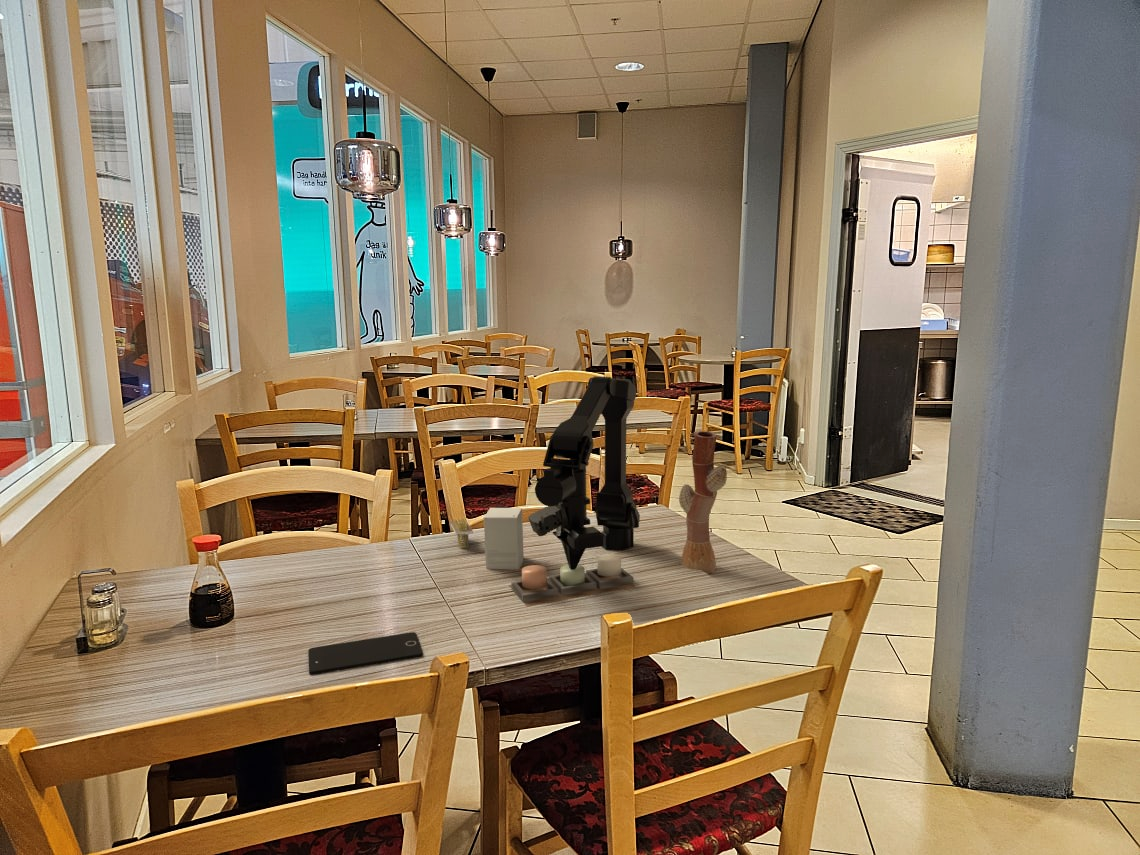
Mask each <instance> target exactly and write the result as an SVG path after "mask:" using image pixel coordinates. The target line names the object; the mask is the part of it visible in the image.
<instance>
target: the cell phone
mask: <svg viewBox="0 0 1140 855" xmlns="http://www.w3.org/2000/svg"><path fill="white" fill-rule="evenodd" d="M307 655H308V656H307V657H308V674H309V675H310V676H313V675H320V674H327V673H330V672H331V673H332V672H337V670H339V671H344V670H349V669H355V668H363V667H369V666H375V665H380V664H386V663H387V664H388V663H392V662H393V663H394V662H400V661H404V660H410V659H416V658H417V659H418V658H422V657H423V656H424V654H423V649H422V646H421V644H420V640H419V638H418V633H416V632H414V631H413V632H404V633H397V634H391V635H386V636H384V635H383V636H379V637H372V638H367V639H359V640H354V641H353V640H352V641H347V642H346V641H345V642H341V643H333V644H326V645H320V646H314V647H309V649H308V654H307Z"/></svg>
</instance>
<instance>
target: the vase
mask: <svg viewBox="0 0 1140 855" xmlns="http://www.w3.org/2000/svg"><path fill="white" fill-rule="evenodd" d="M693 436H694V438H693V439H694V442H693V449H692V450H693V451H692V457H691V460H692V471H693V477H694V478H693V481H694V482H693V483H694V489H693V487H692V486H691V485H689V484H688V483H685V484H683V485H682V486H681V490H680V492H679V498H678V501H679V505H680V507H681V508H682V510H683V511H684V512H685V514H686V519H685V520H686V521H685V523H686V534H687V535H686V541H685V545H684V548H683V551H682V554H681V560H680V561H681V562H680V563H681V566H682V567H685V568H687V569H689V570H690V569H691V570H696V571H702V572H704V573H705V574H707V575H709V574H710V575H711V574H713V573H714V572H715V571H716V568H717V561H716V556H715V551H714V549H713V546H712V542H711V540H710V539H711V538H710V514H711V511H712V509H713V506H714V504H715V502H716V498H717V495H718V491H719V490H721V489H722V488H723V487H725V485H726V483H727V479H728V478H727V474H728V472H727V471H728V470H727V468H726V467H725V466H724V465H718V466H716V467H715V466H714V464H715V462H714V460H715V450H716V449H715V448H716V444H717V436H718V435H717V434H716V433H714V432H711V431H702V430H695V431H694V432H693Z"/></svg>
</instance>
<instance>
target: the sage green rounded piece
mask: <svg viewBox="0 0 1140 855" xmlns="http://www.w3.org/2000/svg"><path fill="white" fill-rule="evenodd" d="M559 572H560V573H559V574H560V579H561V584H562V585H563V586H564V587H566V586H572V585H578V584H584V583H585V573H586V569H585V567H584V566H583V565H580V564H578V565H577V567H576V569H573V570H571V569H570V568H569V565H568V564H566V565H563V566H561V567H560V570H559Z"/></svg>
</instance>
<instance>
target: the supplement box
mask: <svg viewBox="0 0 1140 855" xmlns="http://www.w3.org/2000/svg"><path fill="white" fill-rule="evenodd" d="M486 512H487V513H486V514H485V515H484V516H483V528H484V529H483V531H484V533H483V534H484V535H483V536H484V554H485V556H484V557H485V569H486V570H520V568H521V566H522V565H523V562H524V558H525V557H524V556H525V554H524V553H525V552H524V551H525V550H524V533H523V532H524V530H523V529H524V527H523V526H524V525H523V524H524V523H523V522H524V521H523V508H522V507H489V509H488V510H487V511H486Z"/></svg>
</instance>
